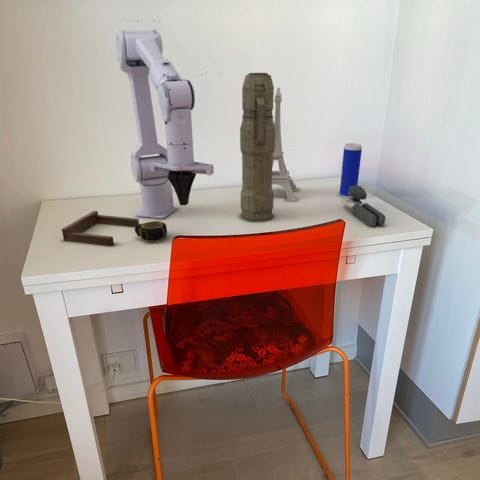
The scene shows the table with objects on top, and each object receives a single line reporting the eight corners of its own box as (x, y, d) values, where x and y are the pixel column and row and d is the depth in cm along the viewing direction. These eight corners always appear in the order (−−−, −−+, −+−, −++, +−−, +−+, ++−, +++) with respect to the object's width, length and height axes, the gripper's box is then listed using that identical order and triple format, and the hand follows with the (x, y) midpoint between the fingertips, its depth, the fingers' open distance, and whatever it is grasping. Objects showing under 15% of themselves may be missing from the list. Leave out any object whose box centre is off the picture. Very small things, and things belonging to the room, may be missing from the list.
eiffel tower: (256, 187, 154) (257, 85, 138) (297, 188, 152) (302, 85, 137) (251, 199, 143) (252, 90, 127) (295, 201, 141) (301, 90, 125)
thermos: (246, 225, 124) (245, 75, 105) (236, 211, 133) (234, 72, 115) (278, 222, 125) (283, 74, 107) (266, 208, 135) (269, 71, 117)
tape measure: (161, 232, 120) (159, 217, 118) (172, 240, 115) (170, 225, 113) (135, 237, 117) (133, 223, 115) (145, 246, 112) (143, 231, 110)
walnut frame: (95, 221, 127) (93, 210, 126) (139, 225, 124) (138, 214, 122) (63, 240, 116) (61, 229, 114) (111, 246, 112) (109, 234, 111)
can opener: (338, 205, 137) (341, 183, 133) (355, 204, 138) (357, 182, 134) (368, 228, 121) (371, 203, 118) (386, 226, 122) (390, 202, 119)
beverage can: (343, 192, 148) (348, 142, 140) (358, 195, 145) (365, 144, 138) (336, 196, 145) (341, 145, 137) (351, 199, 142) (357, 147, 134)
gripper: (141, 144, 101) (148, 206, 108) (204, 148, 97) (207, 212, 104) (155, 138, 106) (161, 197, 113) (215, 141, 103) (218, 202, 110)
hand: (184, 204), depth 109 cm, fingers closed
